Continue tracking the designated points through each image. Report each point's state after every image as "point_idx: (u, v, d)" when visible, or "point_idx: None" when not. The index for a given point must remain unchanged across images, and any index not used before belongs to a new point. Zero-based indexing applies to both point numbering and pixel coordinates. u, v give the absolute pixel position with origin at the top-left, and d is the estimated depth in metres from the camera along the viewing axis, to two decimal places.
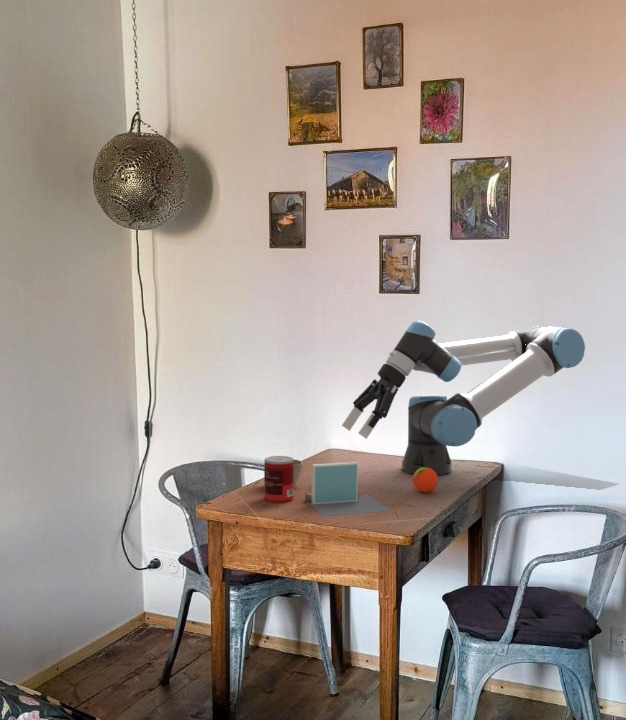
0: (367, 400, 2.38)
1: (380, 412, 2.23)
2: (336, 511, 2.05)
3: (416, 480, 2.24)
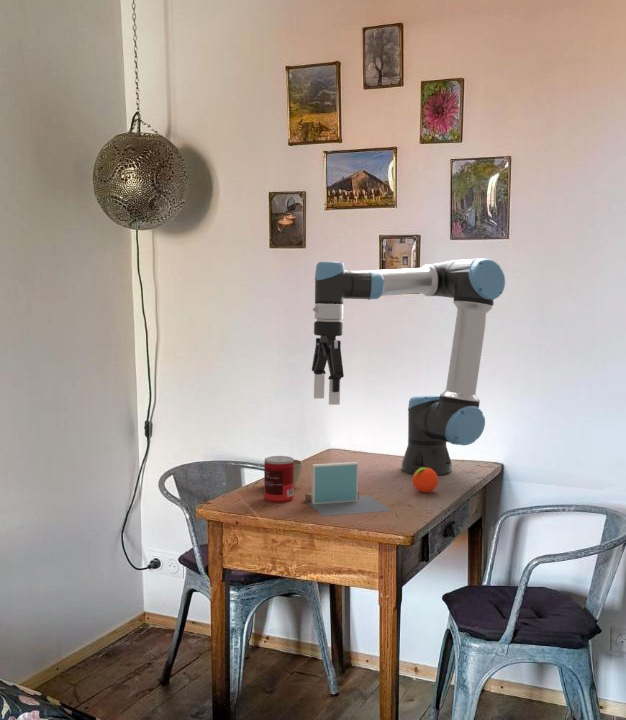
0: (321, 362, 2.24)
1: (335, 375, 2.10)
2: (336, 511, 2.05)
3: (416, 480, 2.24)
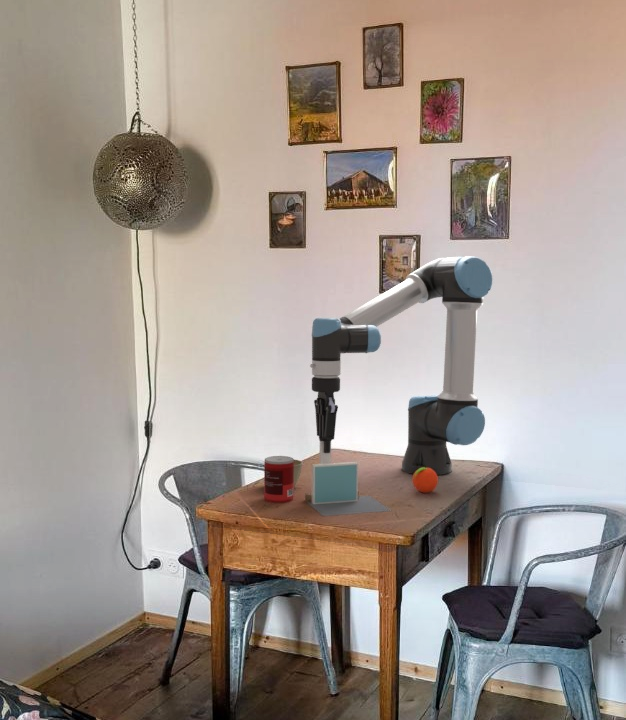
0: None
1: (326, 438, 2.17)
2: (336, 511, 2.05)
3: (416, 480, 2.24)
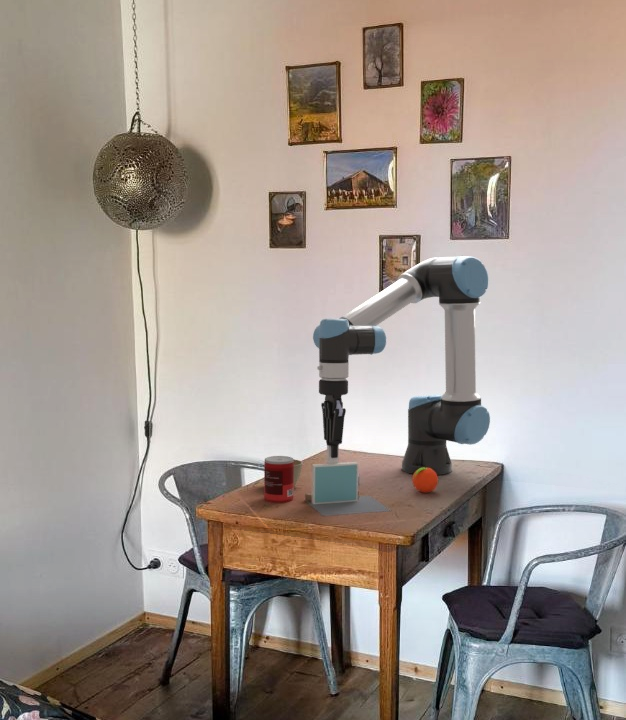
0: None
1: (334, 442, 2.11)
2: (336, 511, 2.05)
3: (416, 480, 2.24)
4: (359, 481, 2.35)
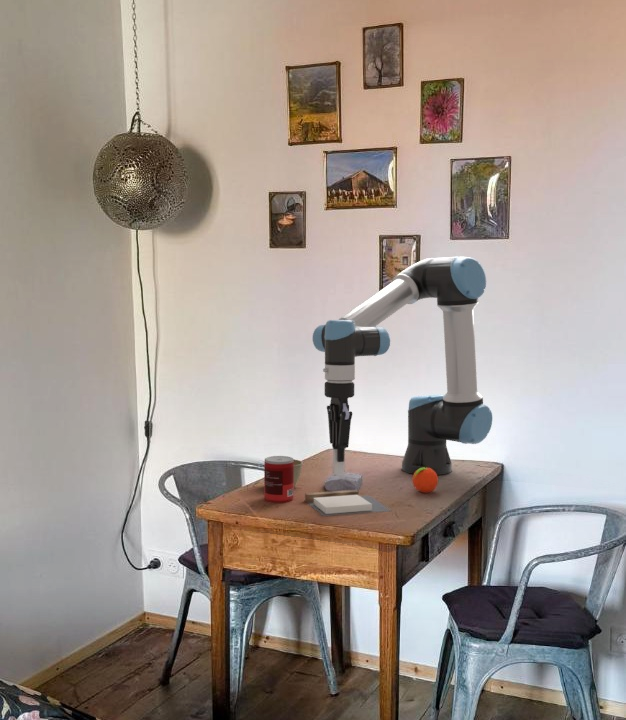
0: None
1: (340, 446, 2.06)
2: None
3: (416, 480, 2.24)
4: None
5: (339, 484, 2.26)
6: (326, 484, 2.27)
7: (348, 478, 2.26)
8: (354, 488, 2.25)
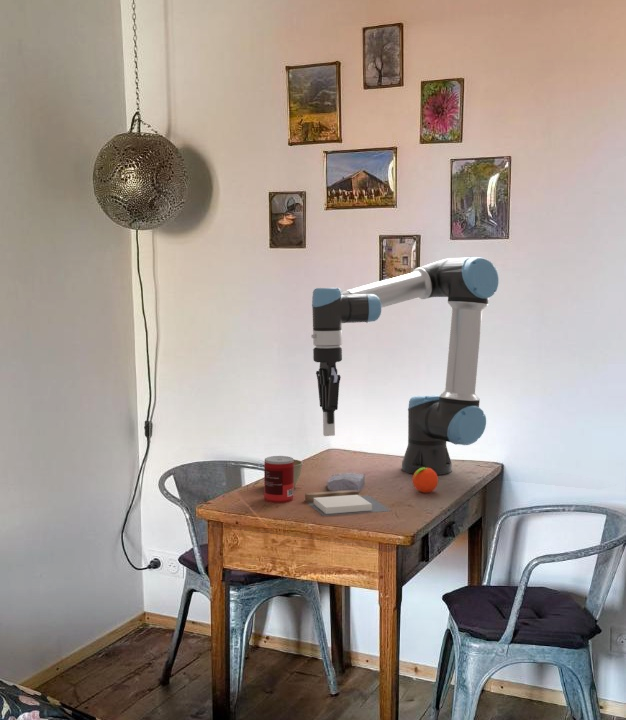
0: None
1: (330, 408, 2.15)
2: None
3: (416, 480, 2.24)
4: (364, 481, 2.35)
5: (341, 484, 2.26)
6: (328, 484, 2.27)
7: (351, 478, 2.26)
8: (357, 488, 2.25)
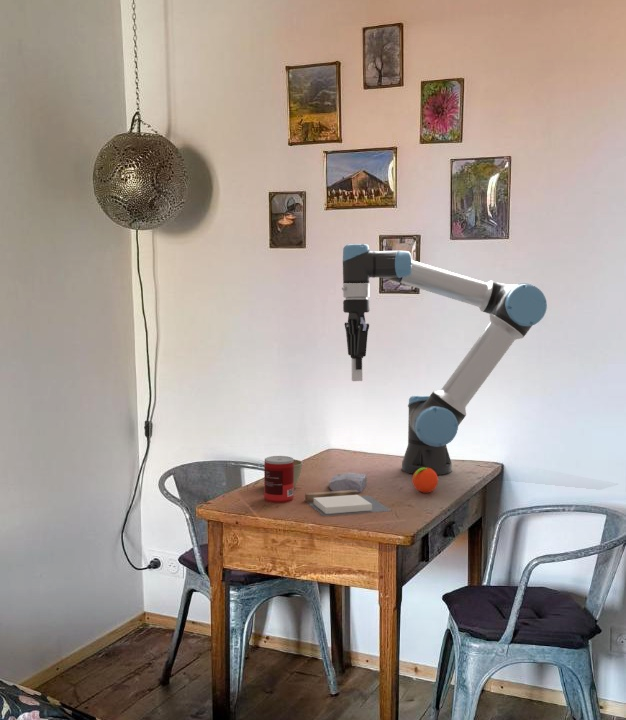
0: None
1: (359, 354, 2.35)
2: None
3: (416, 480, 2.24)
4: (366, 481, 2.35)
5: (343, 484, 2.26)
6: (331, 484, 2.27)
7: (353, 478, 2.26)
8: (359, 488, 2.25)
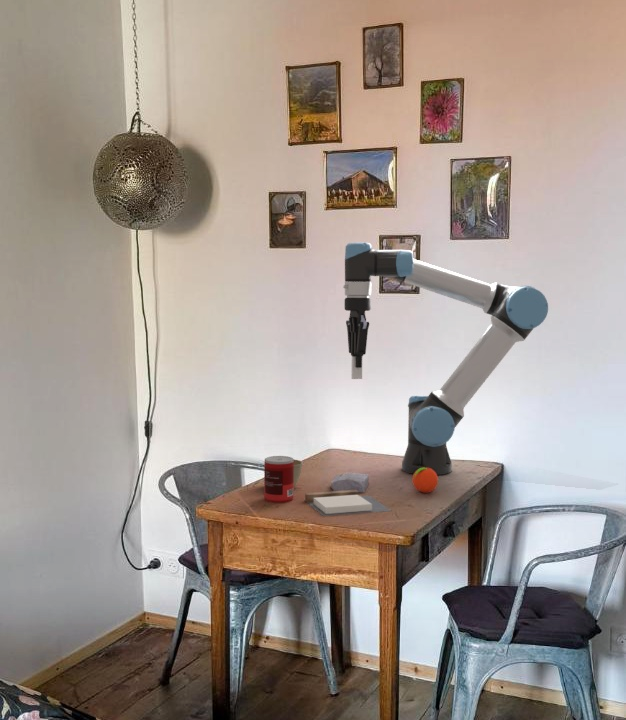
0: None
1: (358, 352, 2.36)
2: None
3: (416, 480, 2.24)
4: (368, 481, 2.34)
5: (346, 485, 2.26)
6: (333, 484, 2.26)
7: (355, 478, 2.26)
8: (361, 488, 2.25)
